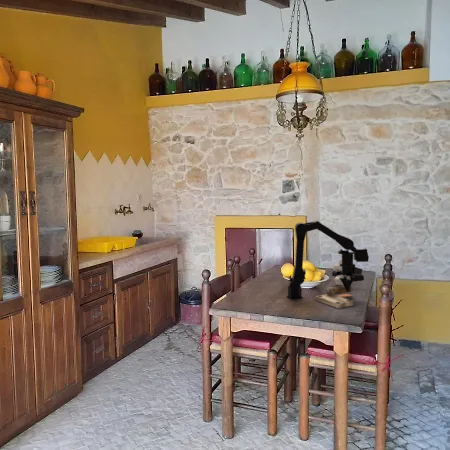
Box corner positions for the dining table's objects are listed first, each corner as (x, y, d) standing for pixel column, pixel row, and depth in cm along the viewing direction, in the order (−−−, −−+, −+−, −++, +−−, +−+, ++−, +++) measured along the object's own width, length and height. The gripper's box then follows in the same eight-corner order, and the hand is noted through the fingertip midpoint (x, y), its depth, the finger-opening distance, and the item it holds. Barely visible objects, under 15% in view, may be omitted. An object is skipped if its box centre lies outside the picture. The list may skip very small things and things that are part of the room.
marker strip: (336, 298, 227) (336, 298, 227) (331, 297, 231) (331, 296, 231) (352, 296, 232) (352, 295, 232) (347, 294, 235) (347, 293, 235)
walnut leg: (329, 295, 225) (329, 289, 225) (325, 293, 229) (325, 287, 228) (351, 292, 231) (351, 286, 230) (347, 290, 234) (347, 284, 234)
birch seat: (337, 308, 211) (337, 303, 211) (315, 299, 226) (315, 295, 226) (353, 305, 215) (353, 300, 215) (331, 297, 231) (331, 293, 230)
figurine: (334, 282, 263) (334, 257, 261) (350, 283, 259) (350, 258, 257) (331, 285, 256) (331, 259, 255) (348, 286, 252) (348, 260, 251)
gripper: (372, 263, 222) (372, 293, 223) (347, 258, 239) (348, 286, 240) (355, 265, 218) (355, 296, 219) (331, 260, 235) (331, 289, 236)
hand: (347, 291), depth 228 cm, fingers closed
